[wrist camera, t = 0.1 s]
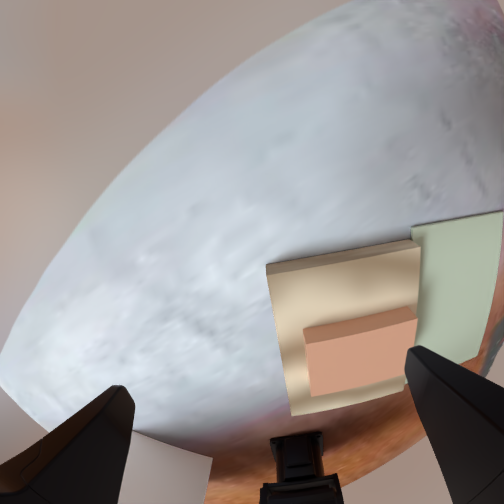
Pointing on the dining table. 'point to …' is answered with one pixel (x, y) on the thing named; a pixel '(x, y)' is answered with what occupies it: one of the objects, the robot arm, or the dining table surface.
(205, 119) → the dining table surface
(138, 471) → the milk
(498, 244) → the mat
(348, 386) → the tile
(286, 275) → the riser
